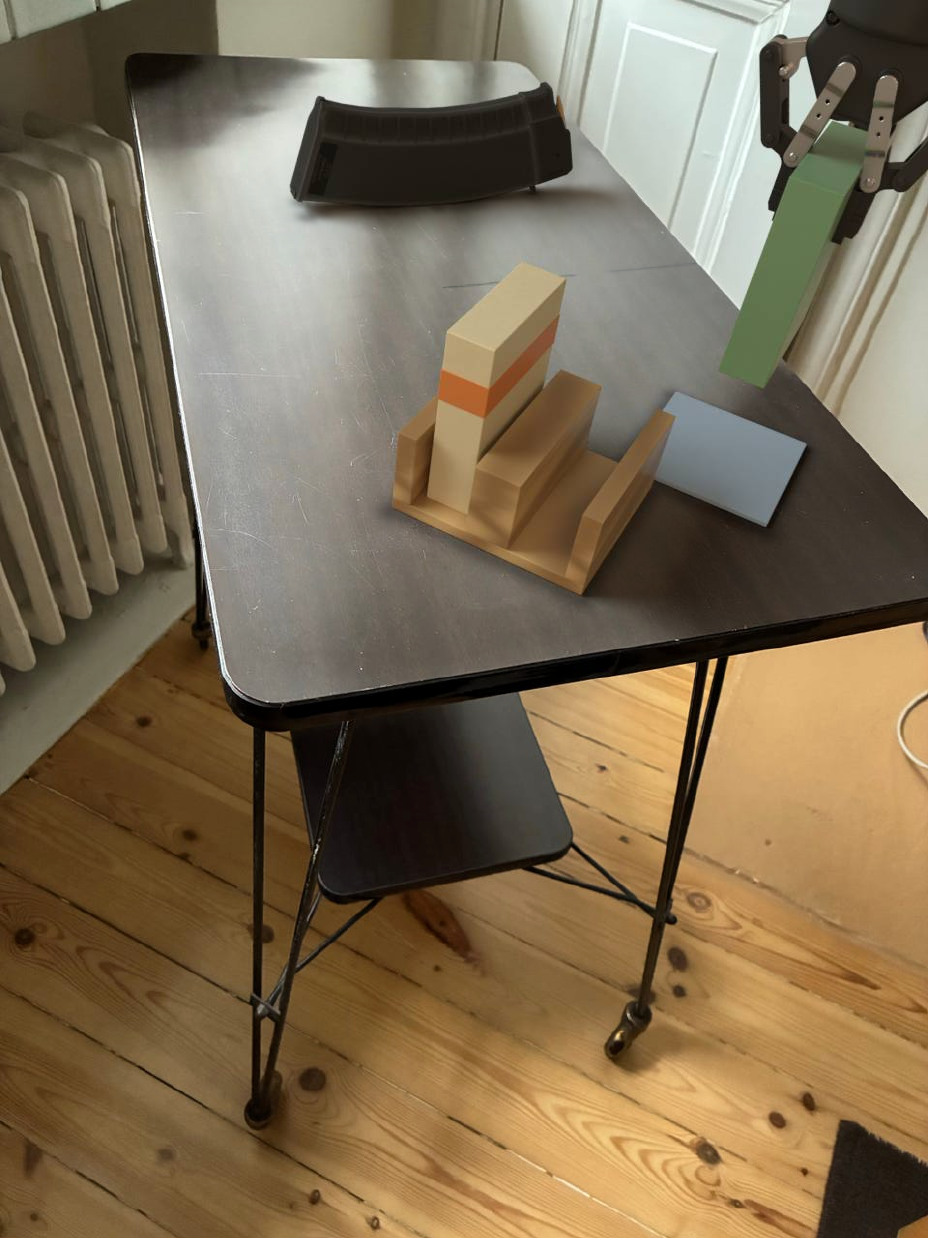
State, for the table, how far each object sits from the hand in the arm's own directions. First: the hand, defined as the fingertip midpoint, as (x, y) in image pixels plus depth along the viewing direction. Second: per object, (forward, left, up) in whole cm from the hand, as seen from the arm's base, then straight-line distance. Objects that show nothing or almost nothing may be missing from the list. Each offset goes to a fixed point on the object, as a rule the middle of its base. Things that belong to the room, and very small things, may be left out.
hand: (809, 227), depth 66 cm
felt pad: (0, 0, -20) cm, 20 cm away
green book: (0, 0, -9) cm, 9 cm away
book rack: (+11, +14, -20) cm, 27 cm away
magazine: (+40, -23, -20) cm, 50 cm away
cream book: (+15, +14, -19) cm, 28 cm away
